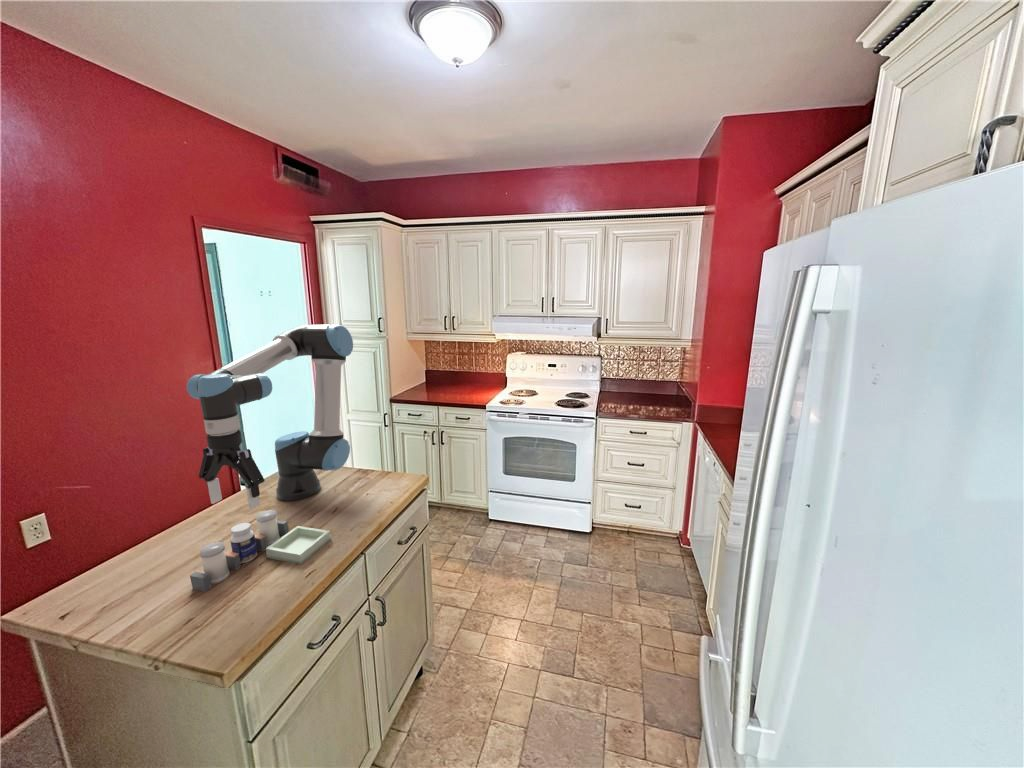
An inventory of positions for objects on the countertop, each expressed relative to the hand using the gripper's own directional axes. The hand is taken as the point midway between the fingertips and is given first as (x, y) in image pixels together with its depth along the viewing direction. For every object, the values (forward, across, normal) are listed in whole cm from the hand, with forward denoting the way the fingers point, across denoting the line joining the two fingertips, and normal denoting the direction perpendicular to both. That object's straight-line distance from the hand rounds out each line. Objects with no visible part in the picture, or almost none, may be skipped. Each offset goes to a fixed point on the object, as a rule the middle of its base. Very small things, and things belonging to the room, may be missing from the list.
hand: (235, 504), depth 111 cm
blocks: (+17, 0, 0) cm, 17 cm away
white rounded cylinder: (+17, 0, -8) cm, 19 cm away
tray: (+17, +12, +8) cm, 22 cm away
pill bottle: (+17, 0, 0) cm, 17 cm away
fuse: (+17, 0, +9) cm, 19 cm away
